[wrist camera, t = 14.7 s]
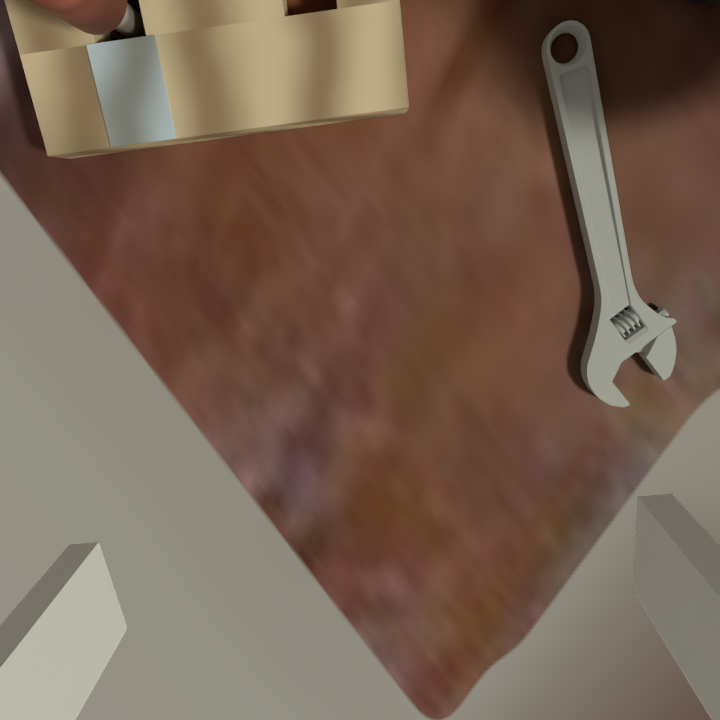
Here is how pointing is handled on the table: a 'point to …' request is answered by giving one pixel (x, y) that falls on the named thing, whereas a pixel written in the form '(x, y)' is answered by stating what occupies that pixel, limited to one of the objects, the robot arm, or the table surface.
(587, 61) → the adjustable wrench
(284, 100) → the board
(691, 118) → the table surface
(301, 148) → the table surface
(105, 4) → the awl
